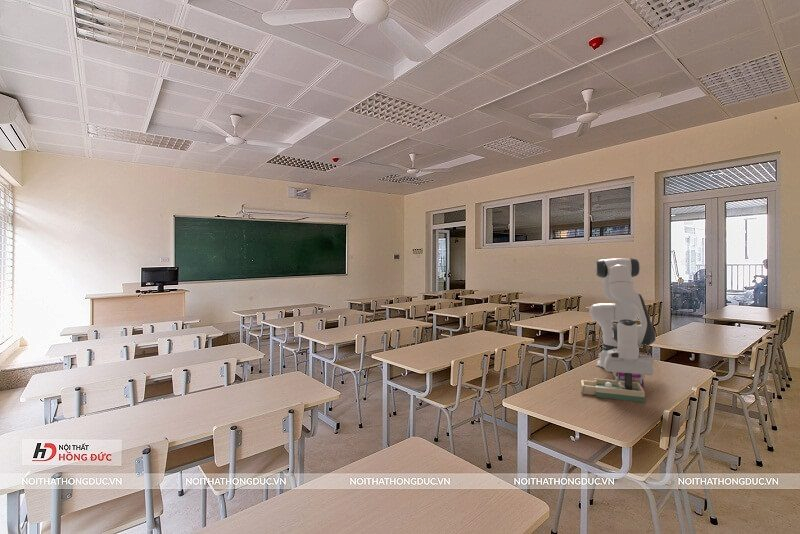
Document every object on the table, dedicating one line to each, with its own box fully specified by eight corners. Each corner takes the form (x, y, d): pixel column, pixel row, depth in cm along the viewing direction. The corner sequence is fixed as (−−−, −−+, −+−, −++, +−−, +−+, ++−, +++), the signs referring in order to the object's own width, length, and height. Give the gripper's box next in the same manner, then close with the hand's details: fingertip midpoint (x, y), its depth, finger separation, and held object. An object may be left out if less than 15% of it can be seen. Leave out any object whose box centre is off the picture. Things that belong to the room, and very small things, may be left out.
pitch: (580, 385, 192) (580, 376, 192) (639, 391, 181) (638, 382, 181) (582, 395, 179) (582, 385, 179) (645, 402, 169) (644, 392, 169)
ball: (604, 387, 183) (604, 380, 183) (611, 387, 182) (611, 381, 181) (605, 389, 180) (605, 382, 180) (612, 390, 179) (612, 383, 179)
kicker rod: (618, 387, 181) (617, 371, 181) (631, 388, 179) (631, 372, 179) (619, 390, 177) (619, 374, 176) (633, 392, 174) (633, 375, 174)
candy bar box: (642, 384, 192) (642, 353, 191) (643, 387, 187) (643, 356, 187) (618, 381, 197) (617, 351, 196) (618, 384, 192) (618, 353, 192)
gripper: (652, 353, 176) (652, 382, 176) (603, 350, 184) (604, 377, 184) (655, 357, 170) (655, 386, 170) (605, 353, 178) (605, 381, 178)
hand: (628, 381), depth 177 cm, fingers open, 8 cm apart
